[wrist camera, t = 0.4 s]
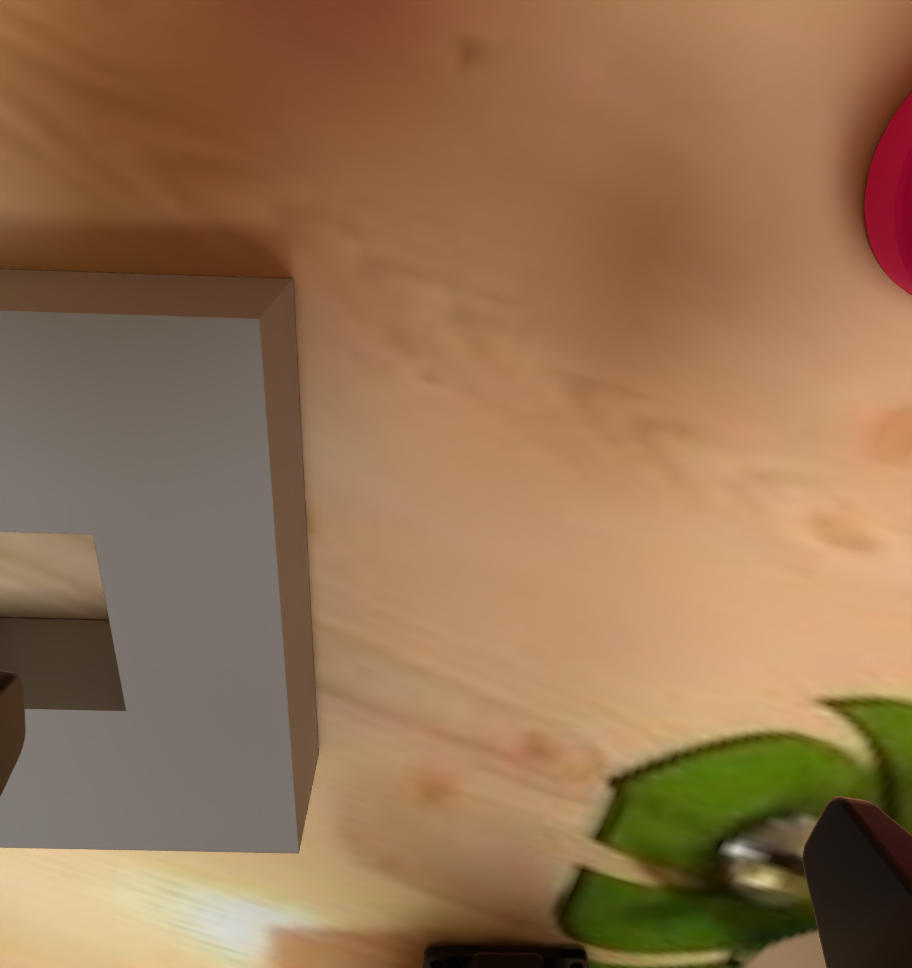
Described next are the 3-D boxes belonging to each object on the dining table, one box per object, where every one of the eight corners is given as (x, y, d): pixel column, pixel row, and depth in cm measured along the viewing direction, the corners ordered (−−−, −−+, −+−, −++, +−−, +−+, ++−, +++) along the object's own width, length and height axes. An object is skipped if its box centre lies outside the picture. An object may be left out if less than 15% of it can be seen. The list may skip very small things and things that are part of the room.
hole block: (318, 753, 27) (298, 853, 24) (-98, 744, 27) (-182, 844, 24) (292, 278, 20) (259, 318, 17) (-269, 259, 20) (-426, 296, 17)
